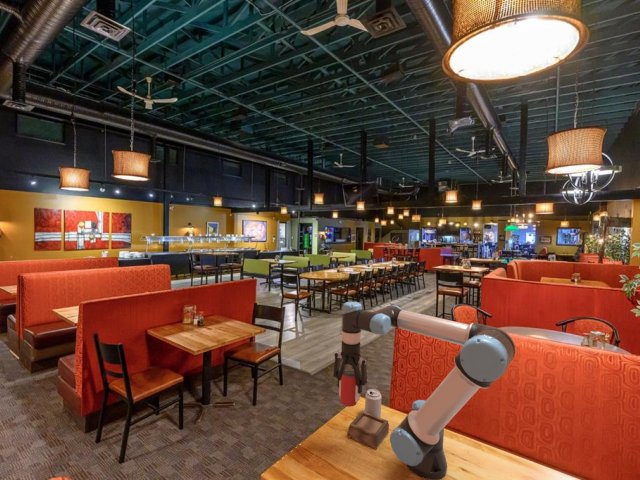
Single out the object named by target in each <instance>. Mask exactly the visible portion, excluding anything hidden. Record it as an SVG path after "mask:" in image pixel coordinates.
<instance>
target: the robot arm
mask: <svg viewBox="0 0 640 480" xmlns="http://www.w3.org/2000/svg"><path fill="white" fill-rule="evenodd" d="M341 316H342V317H341V319H342V320H341V322H342V324H341V325H342V326H341V327H342V328H341V352H340V351H337V352H335V353H334V354H333V355H334V366H333V373H332V375H333V377H334V378H336V379H337V388H338V397H339V398H341V377H342V375H343V372H344V371H346V369H347V365H349V366H351V369H353V371H354V373H355V377H356V380H357V385H356V393H355V402H357V403H358V402H359V401H360V400H361V394H362V393H363V387H364V386H365V385H366V384H367V383H368V373H367V364H368V358H363V357H362V356H361V341H362V340H361V339H362V338H361V334H362V332H361V331H365V332H369V333H372V334H374V335H380V336H386V335H387V334H388V332H390V330H391V327H393V328H396V329H399V330H404V331H407V332H410V333H415V334H418V335H422V336H425V337H429V338H433V339H437V340H440V341H444V342H447V343H451V344H454V345H458V346H461V349H460V351H459V352H458V354H457V355H455V357H454V359H453V362H454V367H453V368H451V371H450V372H449V373H448V374H447V376H446V377H445V378H444V379H443V380H442V381H441V383H440V384H439V385H438V386H437V387H436V388H435V390H433V392H432V393H431V394H430V395H429V397H428V398H427V399H426V400H423V399H418V400H415V401H413V402H412V406H411V411H410V412H409V413H407V415H406V416H405V418H404V419H403V420H402V421H401V422H400V424H399V425H397V427H395V428H394V429H392V432H391V433H390V436H389V443H390V446H391V447H390V448H391V449H392V452H393V453H394V455H395V456H396V458H398V460H399V461H401V462H402V463H404V464H405V465H406V466H407V468H408V469H409V470H410V471H411V472H412V473H413V474H415V475H416V476H418V477H421V478H422V479H426V480H440V479H442V478H443V479H444V477H445V476H446V475H447V473H448V472H447V471H448V462H447V460H446V459H447V458H446V454H445V452H444V437H445V436H444V435H445V427H446V426H447V424H448V423H450V422H451V420H452V419H453V418H454V417H455V416H456V415H457V414H458V413H459V411H460V410H461V409H462V408H463V407H464V406H465V405H466V404H467V403H468V401H469V400H470V399H471V398H472V397H474V395H475V394H476V393H477V392H478V391H479V389H485V390H486V389H489V387H491V386H492V384H494V382H495V381H496V380H498V379H500V378H502V377H503V375H505V373H506V371H507V370H508V367H509V365H510V364H511V362H512V361H513V360H514V358H515V356H516V344H515V341H514V340H513V339H512V337H511V335H510V334H508V333H507V332H506V331H505V330H503V329H501V328H498V327H495V326H492V325H486V324H481V323H477V322H472V323H470V324H468V323H464V322H459V321H454V320H450V319H445V318H440V317H437V316H433V315H427V314H423V313H419V312H415V311H410V310H405V309H403V308H401V307H400V306H398V305H389V306H386V307H383V308H380V309H377V310H375V311H370V310H365V309H363V306H362V303H361V302H358V301H347V302H344V303H343V304H342V312H341ZM341 358H342V363H341ZM359 363H360V364H359ZM340 364H341V367H340Z"/></svg>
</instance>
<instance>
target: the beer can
mask: <svg viewBox="0 0 640 480" xmlns="http://www.w3.org/2000/svg"><path fill="white" fill-rule="evenodd" d="M356 385H357V380H356V377H355V373H354V370H345V371H344V372H343V375H342V377H341V397H340V403H341V405H343V406H345V407H347V408H348V407H354V406H356V405H357V403H358V402H355V393H356Z"/></svg>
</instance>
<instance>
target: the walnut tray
mask: <svg viewBox="0 0 640 480" xmlns="http://www.w3.org/2000/svg"><path fill="white" fill-rule="evenodd" d="M389 433H390V423H389V420H387V419H384V418H382V417H380V418H379V417H377V416H374V415H372V414H369V413H366V412H365V410H362V411H361V412H359V414H358V415H357V416H356V417H355V418H354V419H353V420H352V421H351V422H350V423H349V426H348V438H351V439H353V440H355V441H358V442H360V443H362V444H364V445H366V446H369V447H371V448H373V449H375V450H378V448H380V445H381V444H382V443H383V441H384V440H385V438H386V437H387V436H388V434H389Z"/></svg>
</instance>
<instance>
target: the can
mask: <svg viewBox="0 0 640 480" xmlns="http://www.w3.org/2000/svg"><path fill="white" fill-rule="evenodd" d="M364 396H365V399H364V400H365V401H364V402H365V404H364V412H366V413H369V414H372V415H374V416H377V417H379V418H382V417H381V416H382V394H381V391H380V390H378V389H375V388H371V389H367V391H366V393H365V395H364Z"/></svg>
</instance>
